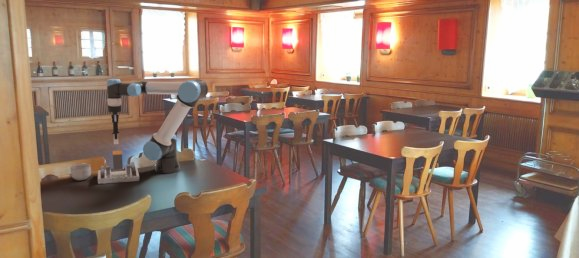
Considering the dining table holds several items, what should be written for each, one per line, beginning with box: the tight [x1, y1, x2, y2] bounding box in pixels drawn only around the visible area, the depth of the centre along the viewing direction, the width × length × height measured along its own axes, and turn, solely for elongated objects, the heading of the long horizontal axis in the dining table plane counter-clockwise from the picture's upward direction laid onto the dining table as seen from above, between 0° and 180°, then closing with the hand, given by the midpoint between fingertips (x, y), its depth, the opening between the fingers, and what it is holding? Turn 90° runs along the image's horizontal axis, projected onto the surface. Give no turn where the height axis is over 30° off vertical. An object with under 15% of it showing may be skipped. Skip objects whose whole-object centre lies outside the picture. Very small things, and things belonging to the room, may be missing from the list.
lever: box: [110, 150, 126, 172], centre depth 272 cm, size 8×2×12 cm, turn 112°
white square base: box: [100, 161, 136, 178], centre depth 272 cm, size 19×19×4 cm
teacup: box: [69, 162, 92, 181], centre depth 270 cm, size 14×11×8 cm
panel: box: [97, 163, 140, 185], centre depth 272 cm, size 22×18×7 cm
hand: (116, 144), depth 280 cm, fingers closed
